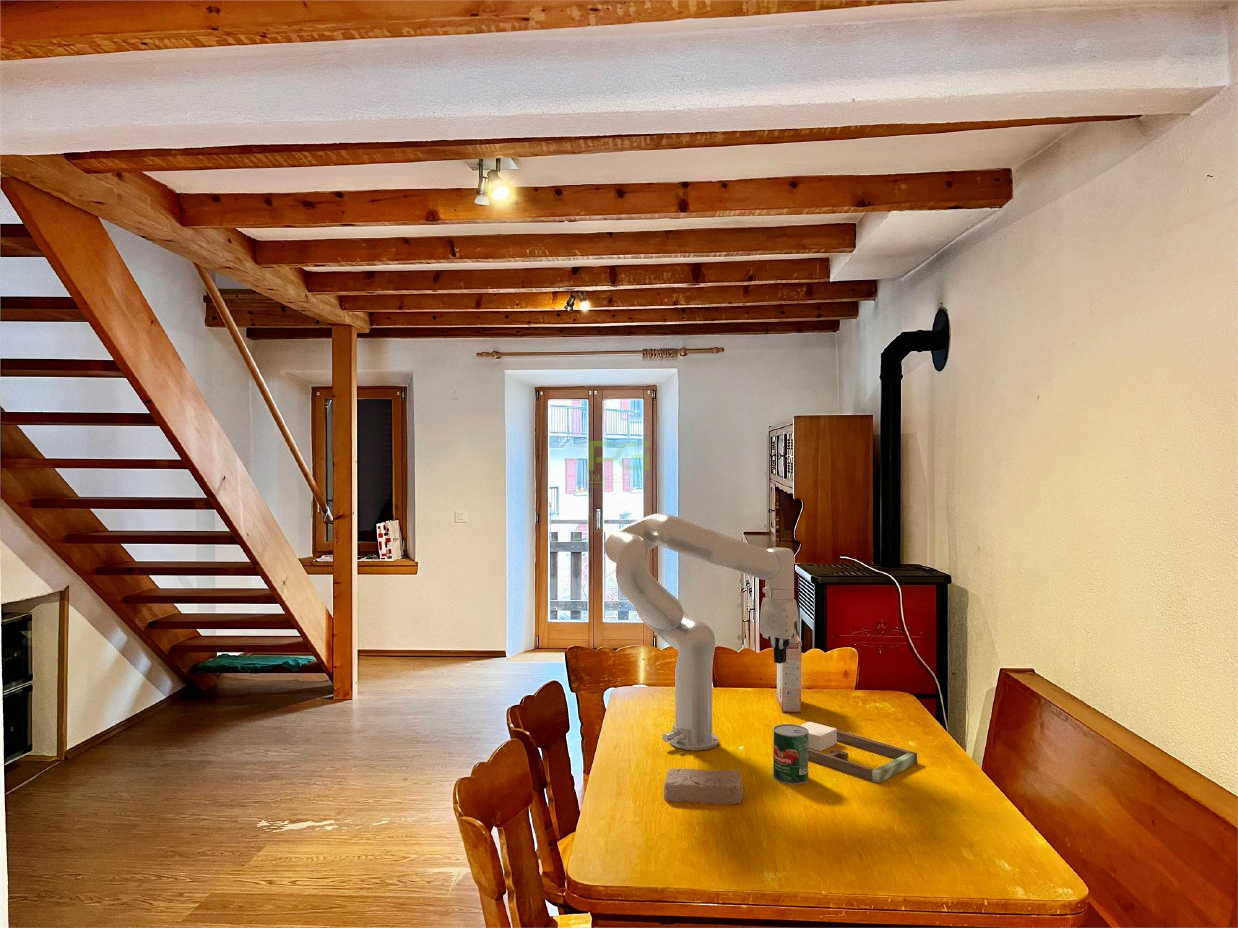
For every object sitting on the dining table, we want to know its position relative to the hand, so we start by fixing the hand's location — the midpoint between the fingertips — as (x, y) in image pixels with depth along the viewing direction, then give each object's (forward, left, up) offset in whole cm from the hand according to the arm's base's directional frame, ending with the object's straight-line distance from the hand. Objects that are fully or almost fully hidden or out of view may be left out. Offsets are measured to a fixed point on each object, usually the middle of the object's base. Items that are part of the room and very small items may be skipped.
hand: (780, 662), depth 204 cm
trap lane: (-2, -21, -19) cm, 28 cm away
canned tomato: (-23, -20, -19) cm, 36 cm away
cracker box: (+21, +12, -19) cm, 31 cm away
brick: (-45, -13, -19) cm, 51 cm away
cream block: (0, -11, -19) cm, 22 cm away
